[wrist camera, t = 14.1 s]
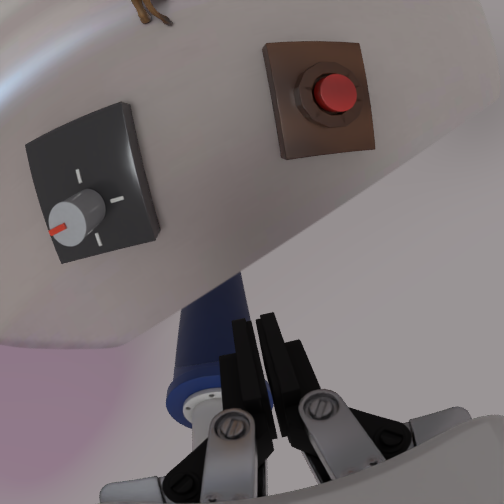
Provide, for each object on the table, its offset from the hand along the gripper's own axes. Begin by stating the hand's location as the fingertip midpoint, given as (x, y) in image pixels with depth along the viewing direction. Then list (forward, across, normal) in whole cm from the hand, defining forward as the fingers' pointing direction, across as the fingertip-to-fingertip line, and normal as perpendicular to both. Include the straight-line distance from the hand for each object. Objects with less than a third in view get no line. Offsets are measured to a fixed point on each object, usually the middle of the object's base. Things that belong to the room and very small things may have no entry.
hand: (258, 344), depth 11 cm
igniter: (+20, -11, -11) cm, 26 cm away
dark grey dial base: (+20, +14, -6) cm, 25 cm away
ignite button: (+17, -11, -11) cm, 23 cm away
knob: (+17, +14, -4) cm, 23 cm away
